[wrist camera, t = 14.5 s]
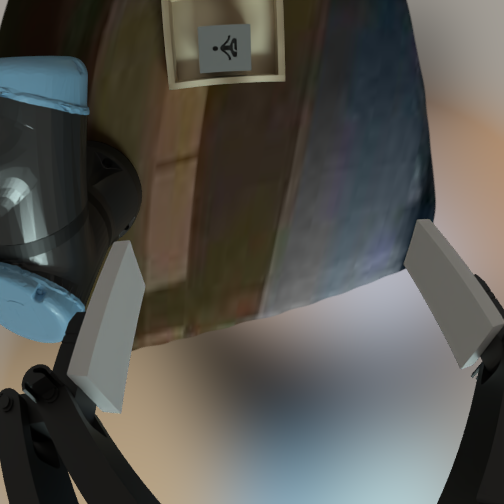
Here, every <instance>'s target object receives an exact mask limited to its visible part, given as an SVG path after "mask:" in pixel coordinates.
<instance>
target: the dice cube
mask: <svg viewBox="0 0 504 504" xmlns="http://www.w3.org/2000/svg"><path fill="white" fill-rule="evenodd" d="M198 46H199V64H200V73H211V72H226V71H251V28H250V24H230V25H213V26H201V27H198Z"/></svg>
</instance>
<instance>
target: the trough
mask: <svg viewBox="0 0 504 504" xmlns="http://www.w3.org/2000/svg"><path fill="white" fill-rule="evenodd" d="M161 4H162V18H163V31H164V42H165V53H166V63H167V73H168V82H169V90H174V89H181V88H188V87H197V86H206V85H216V84H229V83H244V82H270V81H285V49H284V16H283V0H161ZM230 24H250V28H251V71H226V72H211V73H200V64H199V46H198V27H201V26H213V25H230Z"/></svg>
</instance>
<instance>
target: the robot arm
mask: <svg viewBox="0 0 504 504" xmlns="http://www.w3.org/2000/svg"><path fill="white" fill-rule="evenodd" d="M87 84H88V73H87V69H86V67H85V65H84V64H83V62H82V61H80V60H79V59H77V58H75V57H70V56H24V57H6V58H0V324H1V325H2V326H4V327H5V328H7V329H8V330H10V331H12V332H14V333H16V334H18V335H20V336H22V337H25V338H27V339H31V340H34V341H38V342H44V343H56V342H60V341H62V344H61V346H60V349H59V352H58V355H57V358H56V361H55V364H54V367H53V371H52V370H50V368H49V367H48V366H46V365H43V364H39V365H35V366H33V367H31V368H30V369H29V370H28V371H27V372H26V374H25V375H24V377H23V381H22V390H23V391H24V392H25V394H21V395H20V394H18V393H17V392H16V391H15V390H14V389H11V388H6V389H4V390H2V391H1V392H0V462H1V468H2V472H3V478H4V483H5V487H6V492H7V496H8V499H9V504H79V503H78V500H77V497H76V495H75V492H74V489H73V486H72V483H71V480H70V477H69V474H70V475H71V477H72V479H73V481H74V482H75V484H76V486H77V487H78V489H79V491H80V492H81V494H82V496H83V497H84V499H85V500H86V502H87V503H88V504H161V503H160V502H159V501H158V500H157V499H156V498H155V496H154V495H153V494H152V493H151V491H150V490H149V489H148V488H147V487H146V485H145V484H144V483H143V482H142V480H141V479H140V478H139V476H138V475H137V474H136V473H135V471H134V470H133V469H132V467H131V466H130V464H129V463H128V462H127V460H126V459H125V458H124V456H123V455H122V453H121V452H120V450H119V449H118V448H117V446H116V445H115V443H114V442H113V440H112V439H111V437H110V436H109V434H108V433H107V431H106V429H105V428H104V426H103V425H102V423H101V421H100V420H99V418H98V417H97V415H95V410H96V406H97V407H99V408H100V409H101V410H102V411H103V412H110V413H121V411H122V404H123V397H124V391H125V384H126V378H127V372H128V367H129V361H130V356H131V350H132V345H133V340H134V335H135V330H136V325H137V321H138V316H139V312H140V307H141V303H142V298H143V294H144V290H145V284H144V281H143V278H142V275H141V273H140V270H139V267H138V264H137V261H136V258H135V255H134V252H133V249H132V246H131V243H130V240H128V241H118V242H116V241H117V240H118V239H119V238H120V237H122V236H123V235H124V234H125V233H126V232H127V231H128V230H129V229H130V228H131V226H132V225H133V223H134V221H135V219H136V217H137V214H138V212H139V209H140V206H141V201H142V190H141V184H140V180H139V177H138V175H137V173H136V171H135V169H134V167H133V166H132V164H131V163H130V162H129V160H128V159H127V158H126V157H125V156H124V155H123V154H122V153H120V152H119V151H118V150H116V149H115V148H113V147H111V146H109V145H107V144H104V143H101V142H96V141H86V140H87V115H88V114H89V108H88V107H87ZM112 244H113V246H112V248H111V250H110V253H109V255H108V257H107V260H106V262H105V264H104V267H103V269H102V272H101V274H100V277H99V279H98V282H97V284H96V287H95V290H94V292H93V295H92V298H91V300H90V303H89V306H88V309H87V311H86V312H85V306H86V303H87V300H88V298H89V295H90V292H91V290H92V287H93V284H94V282H95V279H96V277H97V274H98V272H99V269H100V267H101V264H102V262H103V259H104V257H105V255H106V252H107V250H108V248H109V247H110V246H111V245H112ZM404 266H405V267H406V269H407V270H408V272H409V274H410V275H411V277H412V279H413V280H414V282H415V284H416V285H417V287H418V289H419V290H420V292H421V294H422V296H423V298H424V299H425V301H426V303H427V305H428V306H429V308H430V310H431V312H432V314H433V315H434V317H435V319H436V321H437V323H438V325H439V327H440V328H441V331H442V332H443V334H444V336H445V338H446V340H447V342H448V344H449V346H450V348H451V350H452V352H453V354H454V357H455V359H456V361H457V363H458V365H459V367H460V369H463V368H466V367H469V366H471V365H473V364H474V363H475V362H476V361H477V360H478V358H479V357H481V359H482V361H483V362H482V363H481V364H480V365H479V366H478V367H477V369H476V370H475V371H474V372H473V373H472V376H471V377H472V378H473V377H474V376H475V375H476V374H477V373H478V376H477V378H476V379H477V382H476V387H475V391H474V396H473V400H472V405H471V409H470V412H469V416H468V420H467V424H466V427H465V430H464V434H463V437H462V440H461V444H460V447H459V450H458V453H457V455H456V458H455V461H454V464H453V467H452V469H451V472H450V474H449V477H448V479H447V482H446V484H445V487H444V489H443V492H442V494H441V496H440V498H439V501H438V503H437V504H504V309H503V308H502V306H501V305H500V303H499V302H498V300H497V299H495V296H494V294H493V293H492V292H491V290H490V288H489V287H488V286H487V284H486V283H485V281H483V280H482V279H481V278H480V277H479V276H478V275H476V274H475V275H473V273H472V272H471V271H470V269H469V268H468V267H467V265H466V264H465V263H464V261H463V260H462V259H461V257H460V256H459V255H458V253H457V252H456V251H455V250H454V248H453V247H452V246H451V245H450V243H449V242H448V241H447V240H446V238H445V237H444V236H443V235H442V234H441V232H440V231H439V230H438V229H437V228H436V226H435V225H434V224H433V223H432V222H431V221H430V219H423V220H417V222H416V226H415V229H414V233H413V236H412V239H411V243H410V246H409V249H408V252H407V255H406V258H405V262H404ZM68 472H69V473H68Z"/></svg>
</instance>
